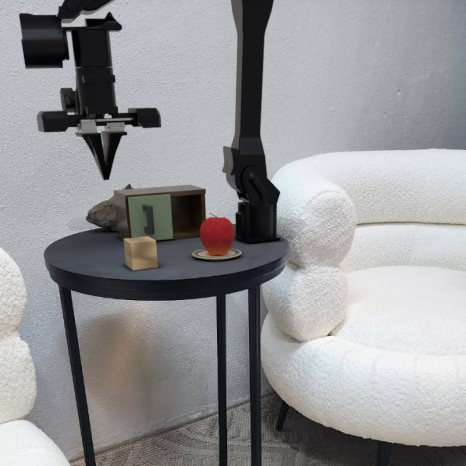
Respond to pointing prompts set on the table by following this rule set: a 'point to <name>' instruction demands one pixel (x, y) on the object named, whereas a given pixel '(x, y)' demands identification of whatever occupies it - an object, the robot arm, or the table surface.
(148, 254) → the block
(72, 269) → the table surface
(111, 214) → the rock
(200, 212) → the cabinet
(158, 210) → the sliding door
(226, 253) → the apple
